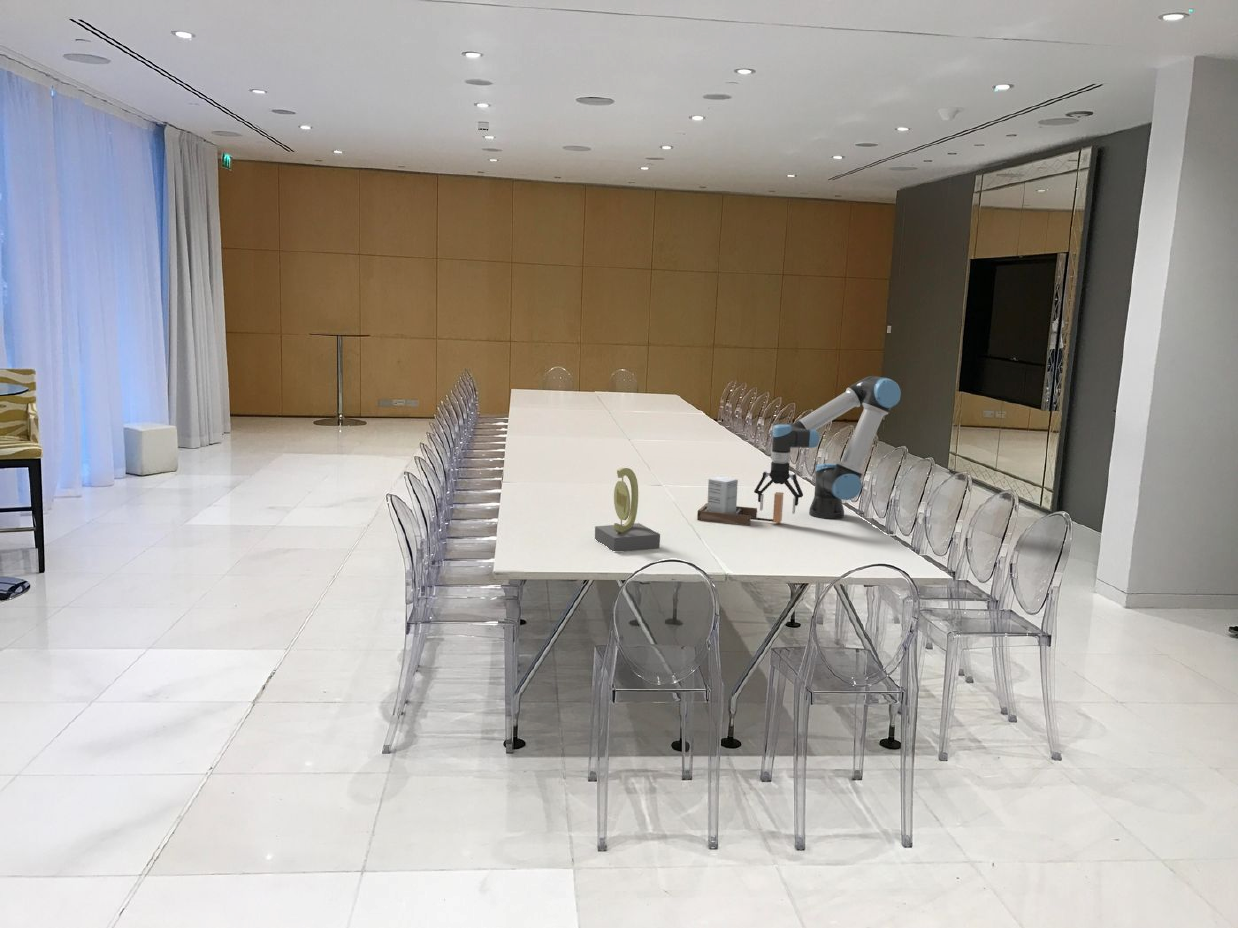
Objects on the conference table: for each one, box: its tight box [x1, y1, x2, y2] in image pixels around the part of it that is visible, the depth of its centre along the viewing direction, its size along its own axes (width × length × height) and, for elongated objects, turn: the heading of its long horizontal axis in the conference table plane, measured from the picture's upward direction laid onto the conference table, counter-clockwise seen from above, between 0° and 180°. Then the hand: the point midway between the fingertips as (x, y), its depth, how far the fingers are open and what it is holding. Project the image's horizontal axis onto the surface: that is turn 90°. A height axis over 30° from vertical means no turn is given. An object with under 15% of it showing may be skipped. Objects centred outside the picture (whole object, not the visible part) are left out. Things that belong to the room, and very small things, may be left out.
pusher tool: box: [704, 491, 784, 524], centre depth 424 cm, size 13×32×12 cm, turn 72°
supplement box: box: [707, 476, 739, 514], centre depth 426 cm, size 10×9×17 cm
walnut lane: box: [696, 502, 758, 526], centre depth 427 cm, size 17×22×4 cm
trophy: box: [594, 467, 661, 552], centre depth 377 cm, size 19×19×30 cm
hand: (777, 511), depth 420 cm, fingers open, 13 cm apart
